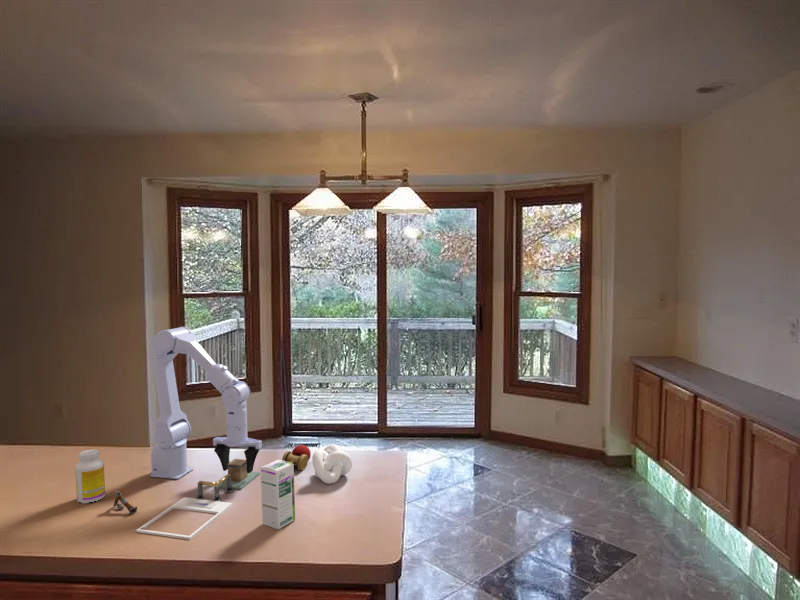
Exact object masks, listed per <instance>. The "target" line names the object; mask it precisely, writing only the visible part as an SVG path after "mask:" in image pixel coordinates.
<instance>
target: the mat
mask: <svg viewBox="0 0 800 600" xmlns="http://www.w3.org/2000/svg"><path fill="white" fill-rule="evenodd" d="M259 475H260V476H261V472H260V471H258V472H257V471H252V472H250V473H248V477H246V478H245V479H244V480H243V481H241V482H235V481H231V489H233V490H240V489H241V490H243V489H244V488H245V487H246V486H247V485H249V484H250V483H252V481H255V479H256V478H258V477H259ZM220 488H223V489H227V480H225V481H224V482H223V483H221V484H220V485H219V489H220ZM242 488H243V489H242Z"/></svg>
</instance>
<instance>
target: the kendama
mask: <svg viewBox="0 0 800 600" xmlns="http://www.w3.org/2000/svg"><path fill="white" fill-rule="evenodd" d="M311 456H312V455H311V449H310V448H309V447H308V446H306V445H305V444H299V445H296V446H295V447H294V448H293V449H292V450H291V451H290V450H286V451H285V452H284V453H283V455H282V458H281V460H283V461H287V462H290V463H293V466H294V465H295V466H296V467H297V470H299V471H301V472H302V471H304V470H305V469H306V468H307V465H308V463H309V460H310V459H311Z"/></svg>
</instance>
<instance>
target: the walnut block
mask: <svg viewBox="0 0 800 600" xmlns="http://www.w3.org/2000/svg"><path fill="white" fill-rule="evenodd" d="M227 474H230V475H231V481H235V482H241V481H243V480H244V479H245V478H246V477H248V473H247V462H246V459H243V458H242V459H241V458H234V459H232V460H231V461H229V463H228V469H227Z"/></svg>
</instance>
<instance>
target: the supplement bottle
mask: <svg viewBox="0 0 800 600" xmlns="http://www.w3.org/2000/svg"><path fill="white" fill-rule="evenodd" d="M78 459H79V462H77V464H76V465H75V467H74V468H75V489H76V501H77V502H78V503H79V502H81V503H80V504H90V503H89V502H93V503H95V502H94V501H96V502H98V500H99V501H100V499H101V500H102V499H103V498H105V496H106V483H105V482H106V480H105V463H104V461H103V459H101V458H100V450H98V449H87V450H82V451H81V452H79V454H78Z"/></svg>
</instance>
